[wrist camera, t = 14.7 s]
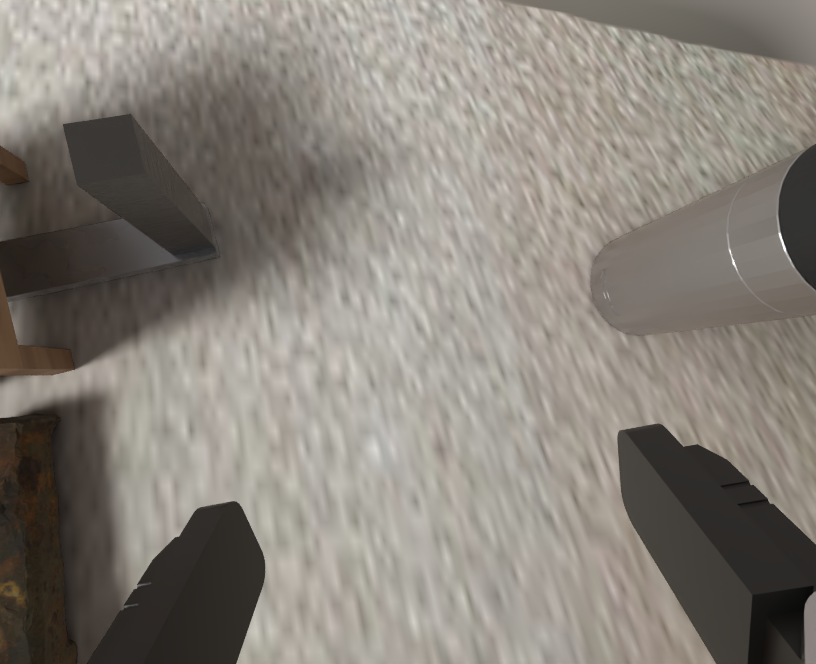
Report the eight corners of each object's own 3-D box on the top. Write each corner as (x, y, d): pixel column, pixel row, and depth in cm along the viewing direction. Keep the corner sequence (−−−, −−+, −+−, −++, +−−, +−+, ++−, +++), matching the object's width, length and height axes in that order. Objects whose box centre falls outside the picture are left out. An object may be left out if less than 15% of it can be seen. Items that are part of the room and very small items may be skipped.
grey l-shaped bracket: (208, 208, 35) (128, 104, 22) (220, 257, 35) (147, 183, 21) (-100, 267, 32) (-435, 186, 18) (-88, 322, 31) (-417, 283, 18)
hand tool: (-5, 418, 32) (-76, 428, 26) (70, 409, 33) (16, 417, 27) (12, 755, 30) (-60, 840, 25) (90, 737, 31) (37, 816, 26)
